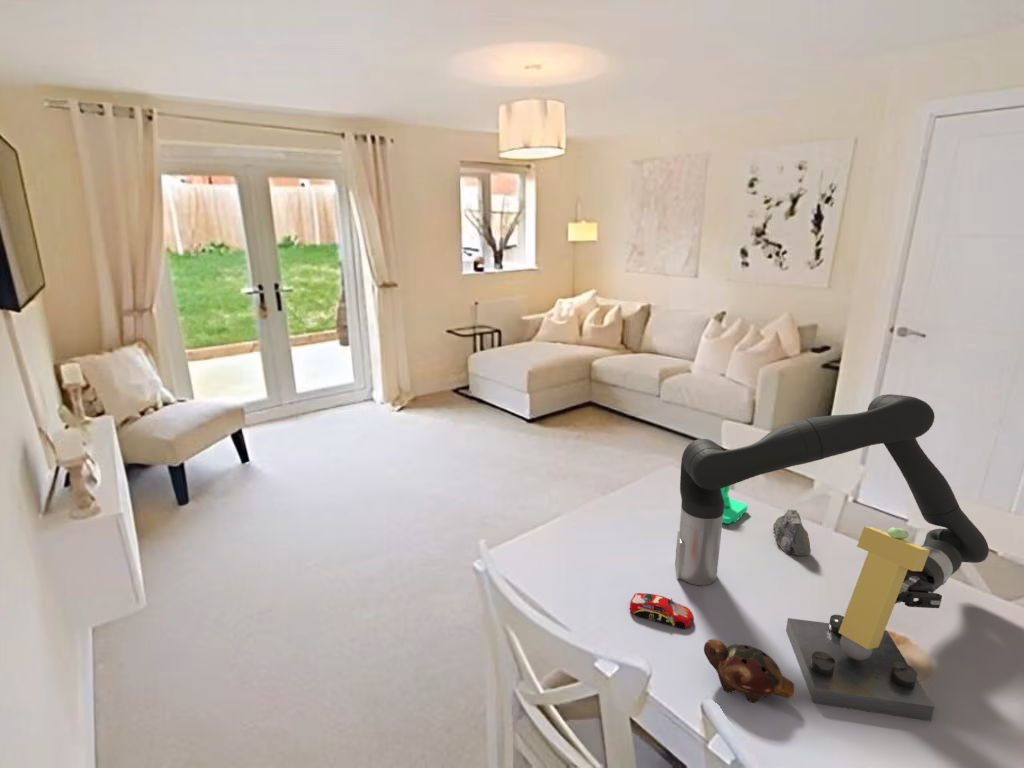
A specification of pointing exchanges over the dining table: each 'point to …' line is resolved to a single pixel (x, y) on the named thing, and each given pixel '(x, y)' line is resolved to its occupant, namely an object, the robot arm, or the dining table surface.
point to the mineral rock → (792, 534)
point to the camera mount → (732, 507)
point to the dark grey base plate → (856, 672)
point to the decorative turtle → (747, 671)
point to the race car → (661, 610)
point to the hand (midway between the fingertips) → (881, 601)
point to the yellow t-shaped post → (878, 588)
